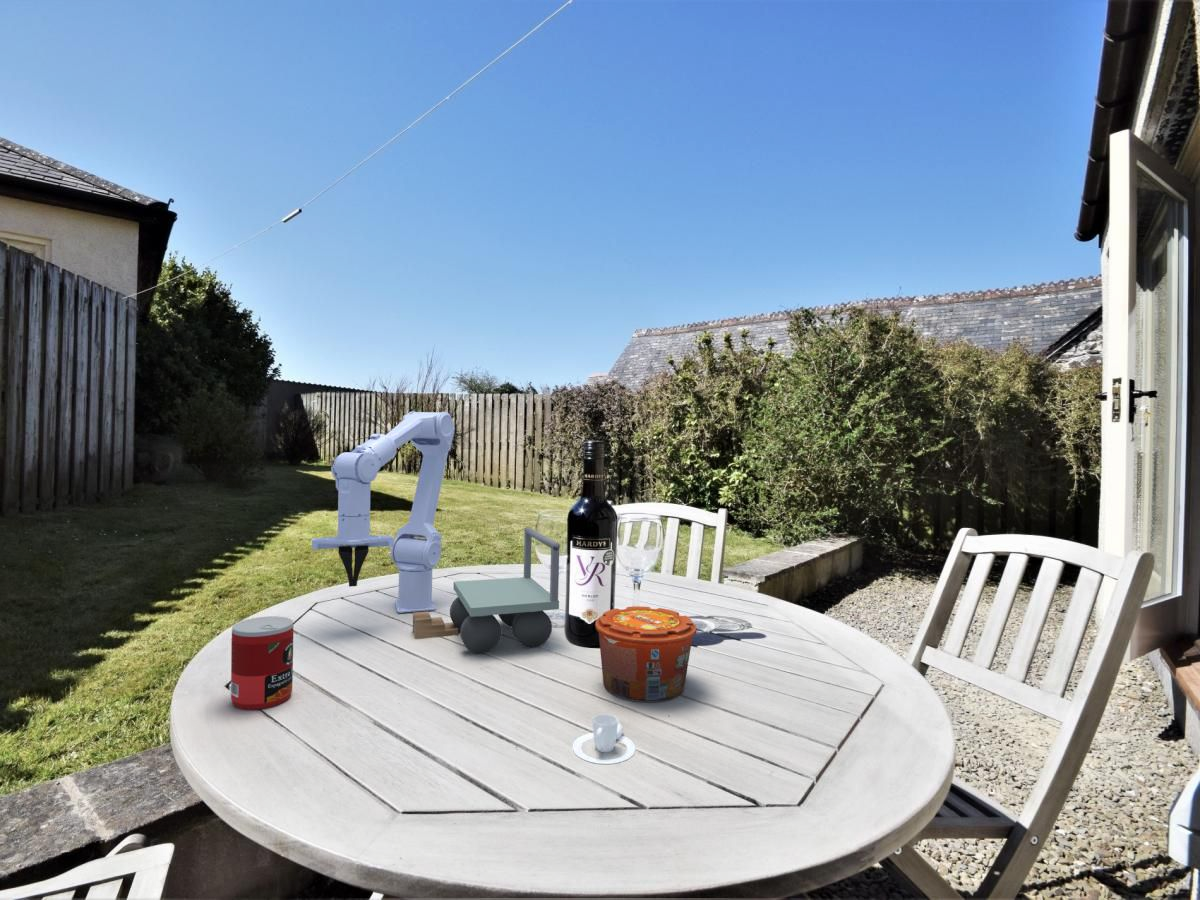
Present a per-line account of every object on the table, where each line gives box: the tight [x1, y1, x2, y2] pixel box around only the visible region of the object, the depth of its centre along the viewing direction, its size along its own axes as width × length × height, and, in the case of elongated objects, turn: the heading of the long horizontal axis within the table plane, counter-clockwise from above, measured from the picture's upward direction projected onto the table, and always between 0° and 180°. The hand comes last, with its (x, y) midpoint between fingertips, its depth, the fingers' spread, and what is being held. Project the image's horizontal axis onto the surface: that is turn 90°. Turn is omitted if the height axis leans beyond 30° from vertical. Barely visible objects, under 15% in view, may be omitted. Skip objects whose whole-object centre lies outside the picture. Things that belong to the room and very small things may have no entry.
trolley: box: [449, 526, 561, 655], centre depth 118 cm, size 20×17×20 cm
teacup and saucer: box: [572, 713, 637, 765], centre depth 78 cm, size 9×8×4 cm
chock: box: [412, 611, 459, 640], centre depth 120 cm, size 5×8×4 cm, turn 112°
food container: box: [594, 605, 697, 703], centre depth 97 cm, size 16×16×11 cm
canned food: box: [230, 615, 294, 711], centre depth 89 cm, size 8×8×11 cm
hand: (352, 585), depth 118 cm, fingers closed
